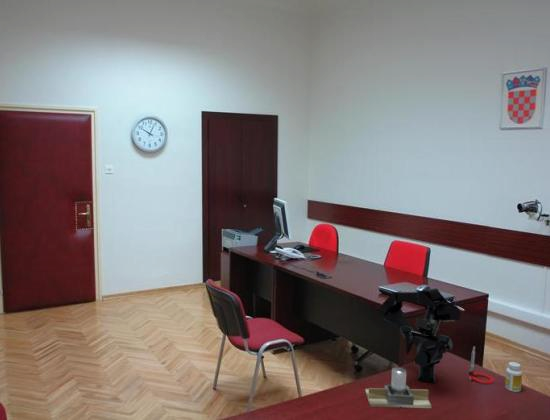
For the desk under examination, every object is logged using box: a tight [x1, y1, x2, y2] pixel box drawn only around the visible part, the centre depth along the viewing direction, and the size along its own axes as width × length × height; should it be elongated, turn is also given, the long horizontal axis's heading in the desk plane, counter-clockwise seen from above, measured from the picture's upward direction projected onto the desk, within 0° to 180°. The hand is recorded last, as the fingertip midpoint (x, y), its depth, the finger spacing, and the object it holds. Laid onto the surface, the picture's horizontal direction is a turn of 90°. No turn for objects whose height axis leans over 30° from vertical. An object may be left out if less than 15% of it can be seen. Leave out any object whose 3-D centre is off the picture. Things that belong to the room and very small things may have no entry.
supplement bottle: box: [504, 361, 523, 393], centre depth 182 cm, size 5×5×10 cm
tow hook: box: [468, 345, 495, 385], centre depth 190 cm, size 8×13×9 cm
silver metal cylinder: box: [390, 366, 407, 395], centre depth 171 cm, size 5×5×10 cm
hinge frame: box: [364, 384, 432, 409], centre depth 173 cm, size 11×21×4 cm, turn 89°
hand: (418, 357), depth 177 cm, fingers open, 9 cm apart
